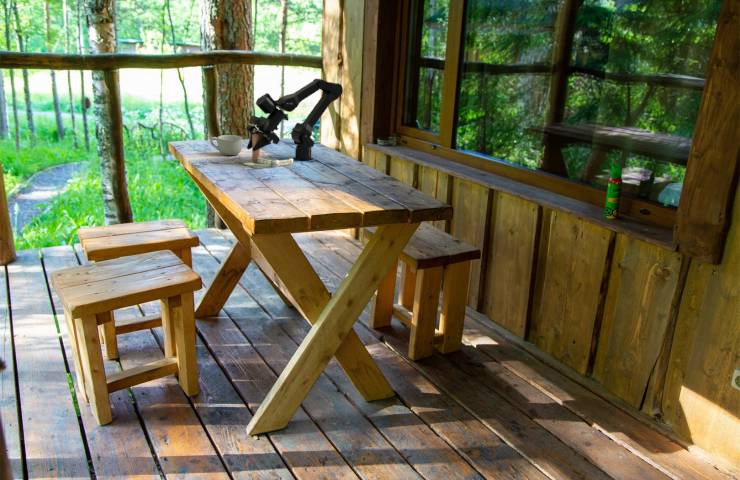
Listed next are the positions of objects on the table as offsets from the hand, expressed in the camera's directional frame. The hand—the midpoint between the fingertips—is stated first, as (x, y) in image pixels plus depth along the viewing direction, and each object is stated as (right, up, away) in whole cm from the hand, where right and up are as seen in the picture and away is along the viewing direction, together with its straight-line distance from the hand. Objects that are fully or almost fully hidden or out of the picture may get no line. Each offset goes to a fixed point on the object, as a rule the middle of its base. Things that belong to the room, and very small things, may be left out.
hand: (250, 149), depth 251 cm
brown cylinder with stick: (+5, -5, +1) cm, 8 cm away
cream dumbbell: (+14, -6, +3) cm, 15 cm away
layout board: (+5, -5, +5) cm, 8 cm away
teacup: (-14, +1, +19) cm, 24 cm away
